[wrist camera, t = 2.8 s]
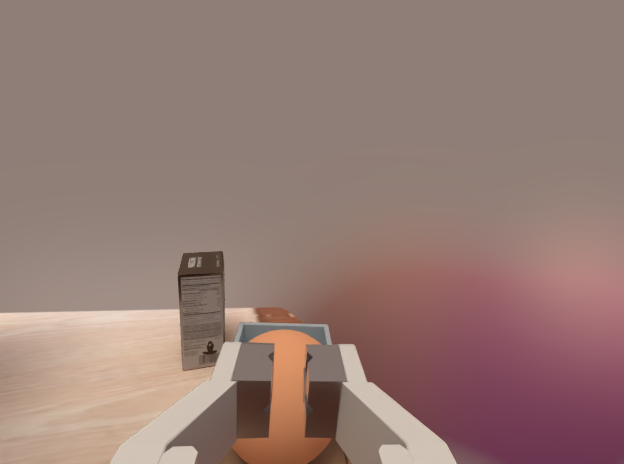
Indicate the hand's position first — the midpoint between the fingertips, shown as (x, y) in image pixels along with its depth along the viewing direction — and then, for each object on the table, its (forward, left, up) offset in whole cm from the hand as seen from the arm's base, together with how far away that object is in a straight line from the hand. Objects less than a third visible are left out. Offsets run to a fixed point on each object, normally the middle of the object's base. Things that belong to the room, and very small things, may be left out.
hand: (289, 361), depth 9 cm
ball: (-5, +11, -13) cm, 18 cm away
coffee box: (-27, +27, -27) cm, 47 cm away
